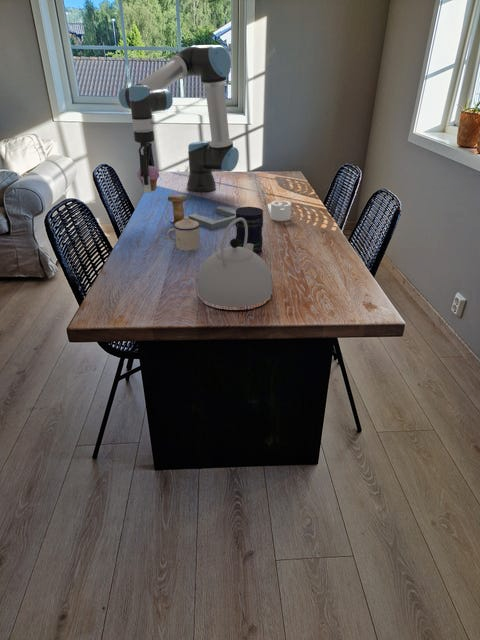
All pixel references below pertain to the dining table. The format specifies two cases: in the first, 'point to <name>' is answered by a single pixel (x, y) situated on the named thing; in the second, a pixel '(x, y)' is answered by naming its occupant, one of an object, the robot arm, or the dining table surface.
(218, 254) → the kettle
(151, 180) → the cupcake
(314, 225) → the dining table surface
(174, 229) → the teacup with lid
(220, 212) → the notched board
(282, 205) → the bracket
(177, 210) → the bobbin
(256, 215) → the storage jar
